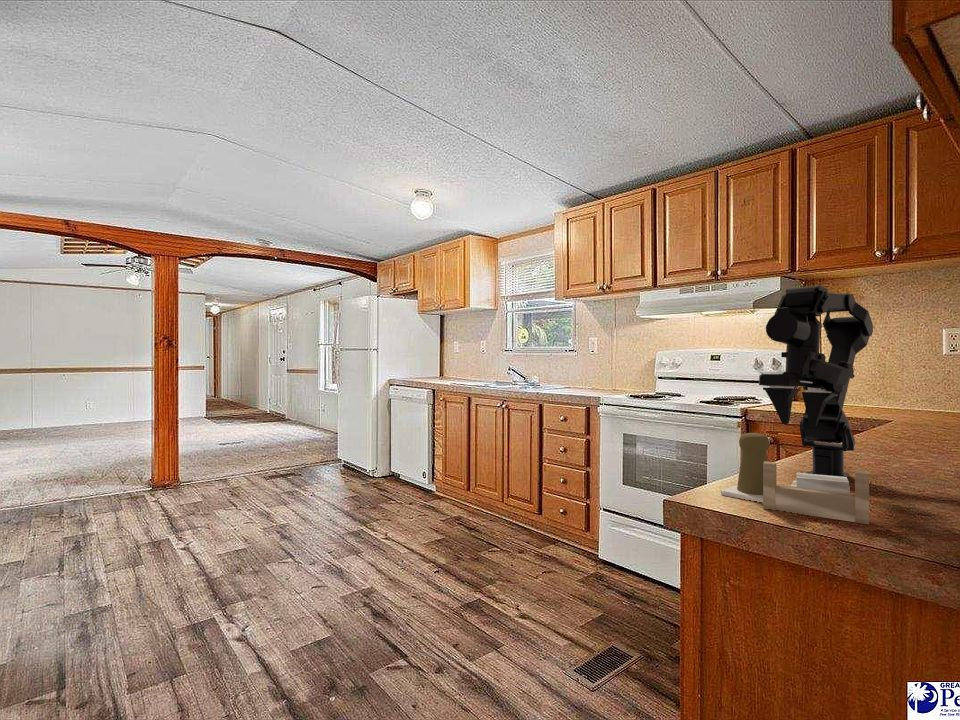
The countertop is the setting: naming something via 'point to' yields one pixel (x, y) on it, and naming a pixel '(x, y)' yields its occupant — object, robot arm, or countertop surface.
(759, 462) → the cork
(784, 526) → the countertop surface
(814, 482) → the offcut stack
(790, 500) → the birch rack
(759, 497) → the ceramic pad
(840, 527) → the countertop surface
